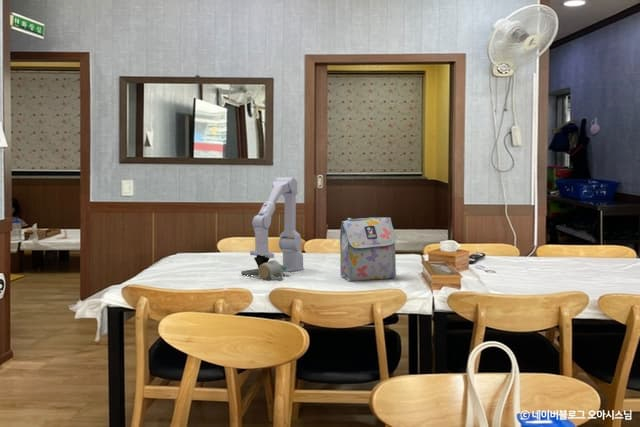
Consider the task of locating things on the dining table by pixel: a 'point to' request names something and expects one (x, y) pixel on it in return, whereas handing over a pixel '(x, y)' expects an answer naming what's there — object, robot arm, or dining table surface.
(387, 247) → the lunch bag
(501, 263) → the dining table surface
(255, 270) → the grey open box
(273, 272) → the ceramic mug
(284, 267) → the cover
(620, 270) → the dining table surface
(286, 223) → the robot arm
